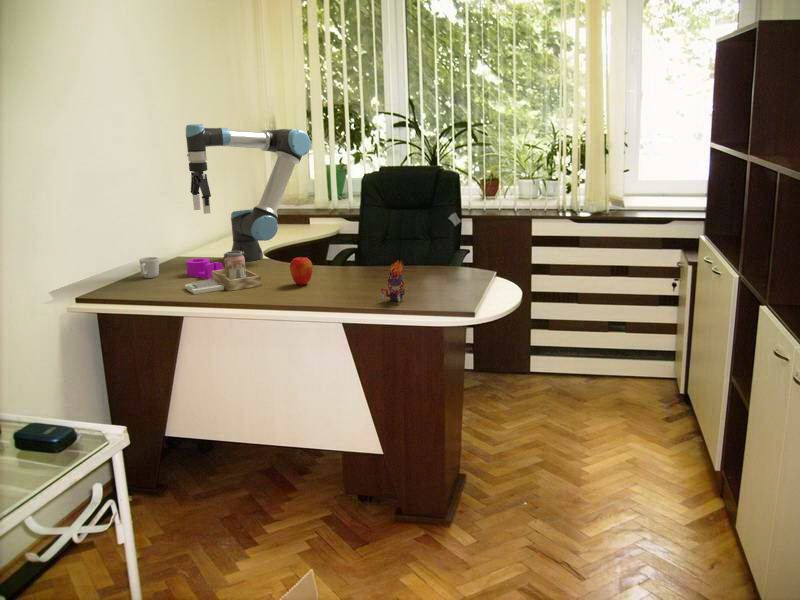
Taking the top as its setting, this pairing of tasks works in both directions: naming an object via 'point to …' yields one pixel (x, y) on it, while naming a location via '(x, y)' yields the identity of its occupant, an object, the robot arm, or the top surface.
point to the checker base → (203, 290)
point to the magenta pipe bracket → (202, 267)
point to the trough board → (236, 280)
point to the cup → (149, 267)
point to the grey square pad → (203, 284)
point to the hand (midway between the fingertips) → (202, 211)
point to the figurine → (395, 283)
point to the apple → (301, 270)
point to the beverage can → (234, 265)
